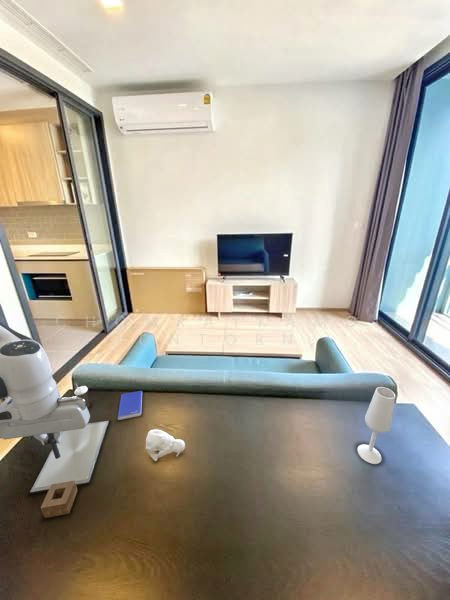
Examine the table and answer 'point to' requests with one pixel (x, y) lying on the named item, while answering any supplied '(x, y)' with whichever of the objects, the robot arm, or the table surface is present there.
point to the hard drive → (130, 405)
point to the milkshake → (83, 394)
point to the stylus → (53, 446)
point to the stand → (59, 499)
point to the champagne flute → (378, 422)
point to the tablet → (73, 457)
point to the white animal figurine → (162, 444)
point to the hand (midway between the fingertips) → (52, 442)
